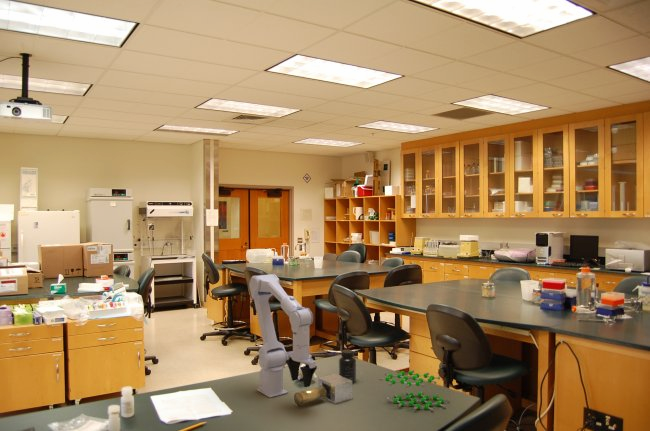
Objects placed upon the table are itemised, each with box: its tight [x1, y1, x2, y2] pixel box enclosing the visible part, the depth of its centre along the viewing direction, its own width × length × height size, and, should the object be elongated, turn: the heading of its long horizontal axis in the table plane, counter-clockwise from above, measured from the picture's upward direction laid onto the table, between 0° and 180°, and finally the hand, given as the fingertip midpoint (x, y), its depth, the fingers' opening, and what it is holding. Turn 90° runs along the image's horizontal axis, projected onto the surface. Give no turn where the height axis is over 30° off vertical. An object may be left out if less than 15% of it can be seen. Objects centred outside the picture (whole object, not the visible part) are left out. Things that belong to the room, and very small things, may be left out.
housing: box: [317, 373, 353, 404], centre depth 179 cm, size 10×8×6 cm
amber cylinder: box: [293, 386, 326, 406], centre depth 173 cm, size 4×11×4 cm, turn 127°
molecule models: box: [378, 369, 451, 412], centre depth 174 cm, size 17×25×10 cm, turn 91°
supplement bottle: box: [338, 349, 357, 384], centre depth 196 cm, size 7×7×12 cm
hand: (300, 383), depth 170 cm, fingers open, 7 cm apart
